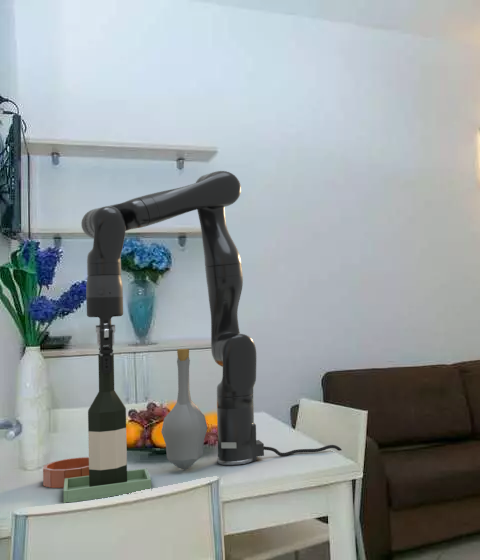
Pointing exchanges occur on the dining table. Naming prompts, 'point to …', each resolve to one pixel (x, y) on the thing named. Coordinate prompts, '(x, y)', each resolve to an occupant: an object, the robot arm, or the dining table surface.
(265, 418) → the dining table surface
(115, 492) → the tray
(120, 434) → the wine bottle
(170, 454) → the bottle
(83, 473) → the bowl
